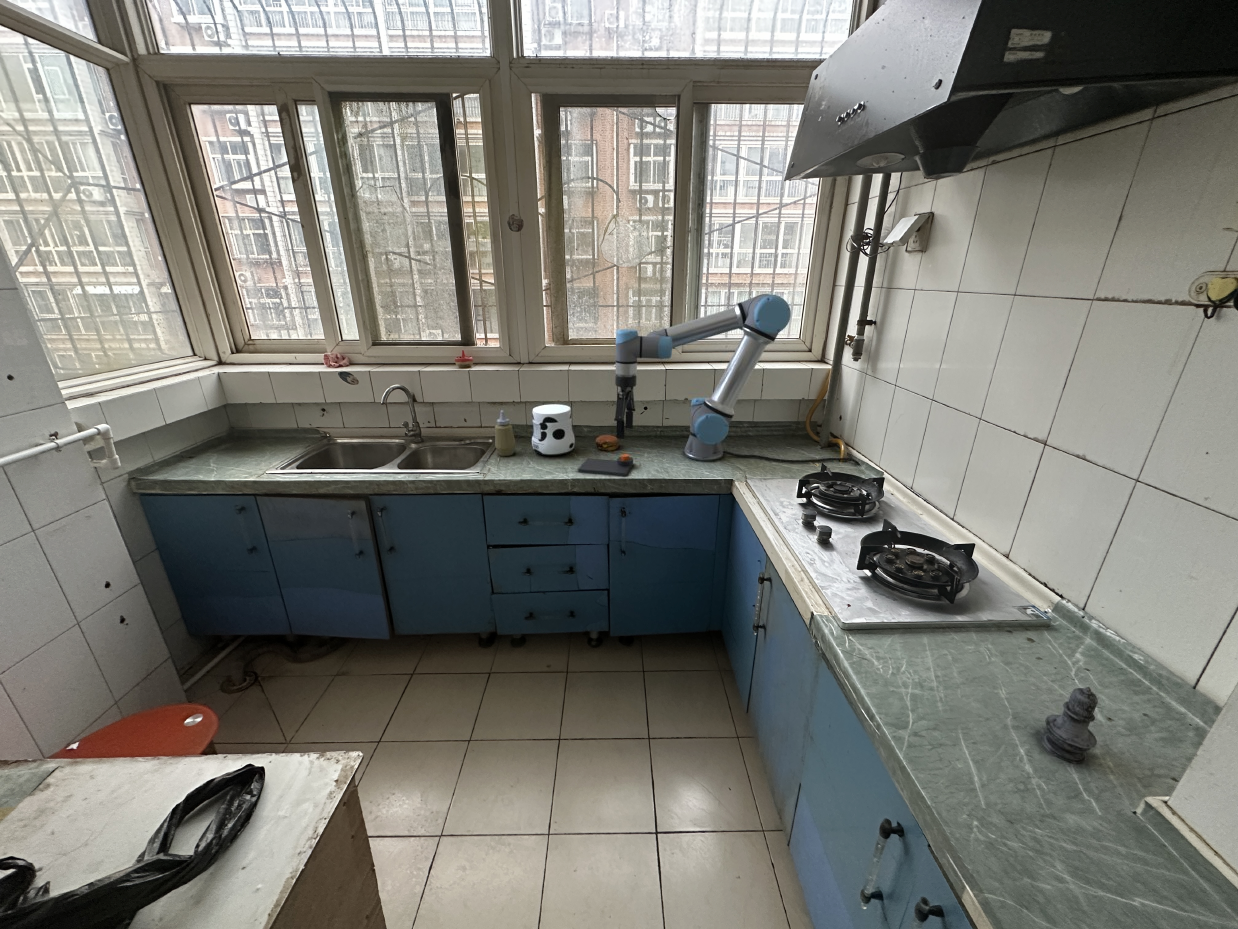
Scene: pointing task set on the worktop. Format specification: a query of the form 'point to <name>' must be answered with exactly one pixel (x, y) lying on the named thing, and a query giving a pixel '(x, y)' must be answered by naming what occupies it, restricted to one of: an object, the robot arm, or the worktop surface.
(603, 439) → the burger
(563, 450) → the milk container
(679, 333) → the robot arm
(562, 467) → the worktop surface
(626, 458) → the tare button
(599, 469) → the scale
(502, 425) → the squeeze bottle
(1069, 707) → the dark grey chess piece
